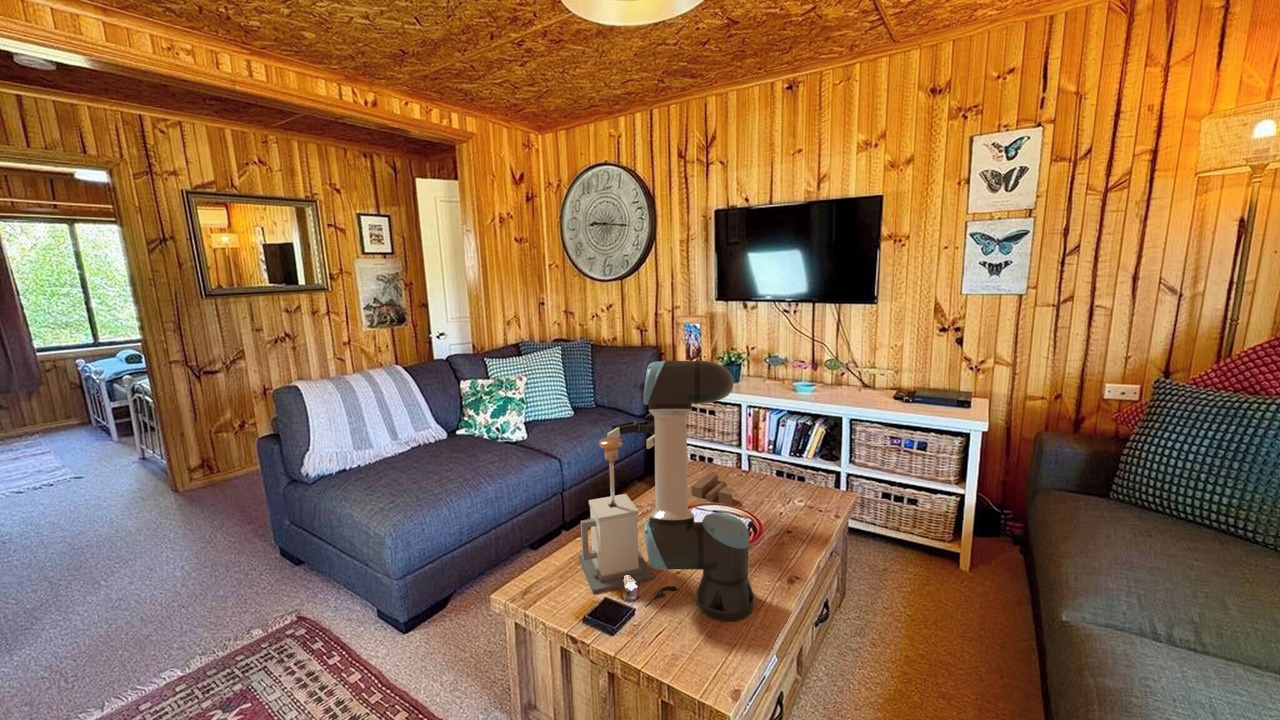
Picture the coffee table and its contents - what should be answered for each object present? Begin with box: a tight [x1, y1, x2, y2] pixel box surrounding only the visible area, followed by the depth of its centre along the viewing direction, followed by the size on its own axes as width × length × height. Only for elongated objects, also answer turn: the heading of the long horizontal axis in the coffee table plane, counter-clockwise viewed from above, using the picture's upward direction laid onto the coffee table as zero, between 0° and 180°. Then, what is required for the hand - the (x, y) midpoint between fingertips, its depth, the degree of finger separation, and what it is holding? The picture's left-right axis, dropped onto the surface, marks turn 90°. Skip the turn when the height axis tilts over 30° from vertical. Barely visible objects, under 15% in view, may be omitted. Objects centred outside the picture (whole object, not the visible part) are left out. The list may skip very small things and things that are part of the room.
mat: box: [578, 550, 655, 594], centre depth 151 cm, size 18×18×1 cm
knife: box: [644, 585, 678, 609], centre depth 137 cm, size 14×4×1 cm, turn 146°
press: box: [580, 493, 642, 582], centre depth 149 cm, size 12×16×19 cm
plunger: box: [598, 437, 623, 508], centre depth 146 cm, size 6×6×23 cm
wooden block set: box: [691, 471, 733, 507], centre depth 199 cm, size 17×6×18 cm
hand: (627, 441), depth 153 cm, fingers open, 13 cm apart
